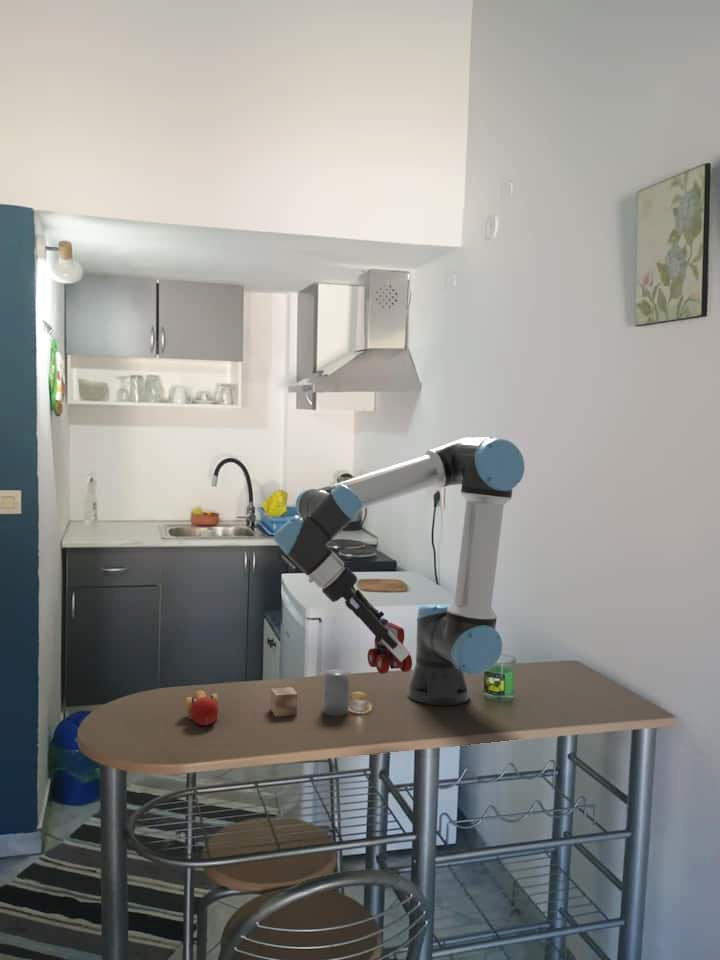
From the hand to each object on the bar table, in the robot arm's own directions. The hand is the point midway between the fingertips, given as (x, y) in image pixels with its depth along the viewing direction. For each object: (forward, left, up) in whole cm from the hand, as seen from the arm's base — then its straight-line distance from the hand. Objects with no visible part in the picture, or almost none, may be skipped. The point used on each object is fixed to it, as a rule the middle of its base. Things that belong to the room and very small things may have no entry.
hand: (402, 649), depth 181 cm
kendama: (+44, -9, -19) cm, 48 cm away
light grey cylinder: (+13, -13, -18) cm, 26 cm away
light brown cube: (+25, -12, -18) cm, 33 cm away
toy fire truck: (+3, 0, -5) cm, 5 cm away
